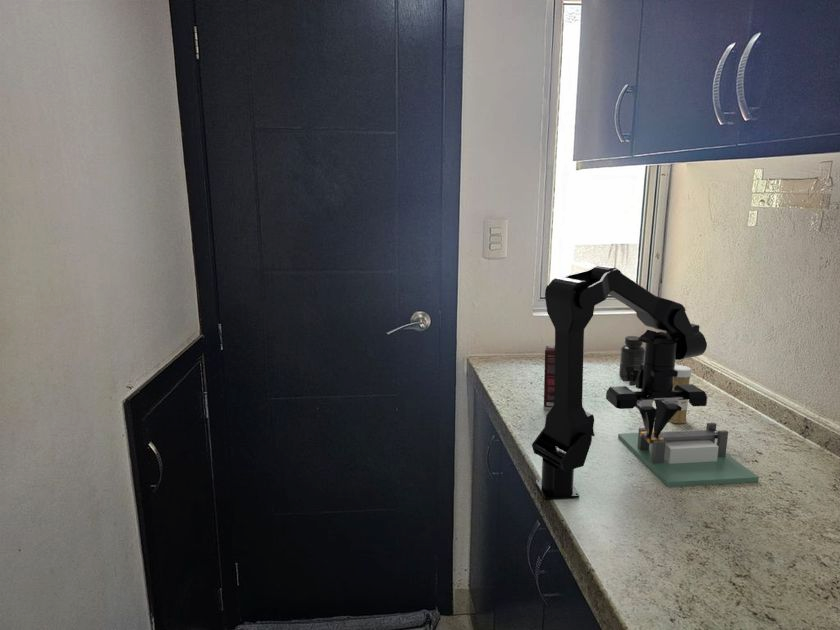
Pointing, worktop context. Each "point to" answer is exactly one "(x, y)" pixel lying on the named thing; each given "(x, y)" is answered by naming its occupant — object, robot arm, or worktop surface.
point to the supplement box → (549, 377)
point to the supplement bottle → (632, 353)
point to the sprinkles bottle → (680, 416)
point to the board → (691, 469)
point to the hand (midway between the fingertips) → (652, 435)
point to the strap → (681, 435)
